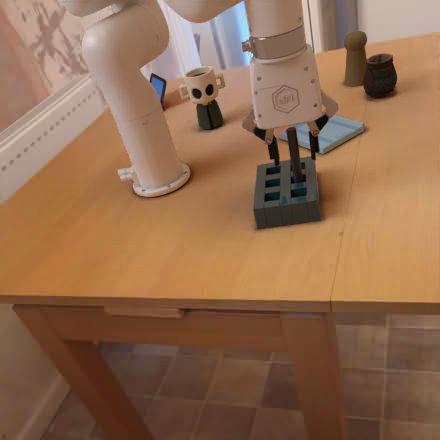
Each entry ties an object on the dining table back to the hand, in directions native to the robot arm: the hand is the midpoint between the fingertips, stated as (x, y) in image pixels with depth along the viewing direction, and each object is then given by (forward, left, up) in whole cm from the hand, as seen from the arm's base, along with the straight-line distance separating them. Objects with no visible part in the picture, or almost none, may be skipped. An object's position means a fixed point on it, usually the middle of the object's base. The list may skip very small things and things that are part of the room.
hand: (295, 158), depth 78 cm
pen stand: (-2, 0, -8) cm, 8 cm away
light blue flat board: (+5, +24, -8) cm, 26 cm away
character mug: (-21, +40, -8) cm, 46 cm away
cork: (+15, +50, -8) cm, 53 cm away
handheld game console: (-42, +61, -8) cm, 75 cm away
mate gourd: (+19, +39, -8) cm, 44 cm away
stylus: (0, 0, -8) cm, 8 cm away
